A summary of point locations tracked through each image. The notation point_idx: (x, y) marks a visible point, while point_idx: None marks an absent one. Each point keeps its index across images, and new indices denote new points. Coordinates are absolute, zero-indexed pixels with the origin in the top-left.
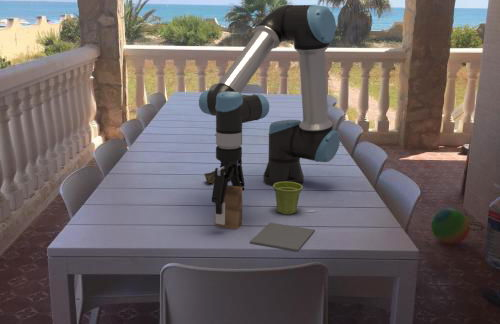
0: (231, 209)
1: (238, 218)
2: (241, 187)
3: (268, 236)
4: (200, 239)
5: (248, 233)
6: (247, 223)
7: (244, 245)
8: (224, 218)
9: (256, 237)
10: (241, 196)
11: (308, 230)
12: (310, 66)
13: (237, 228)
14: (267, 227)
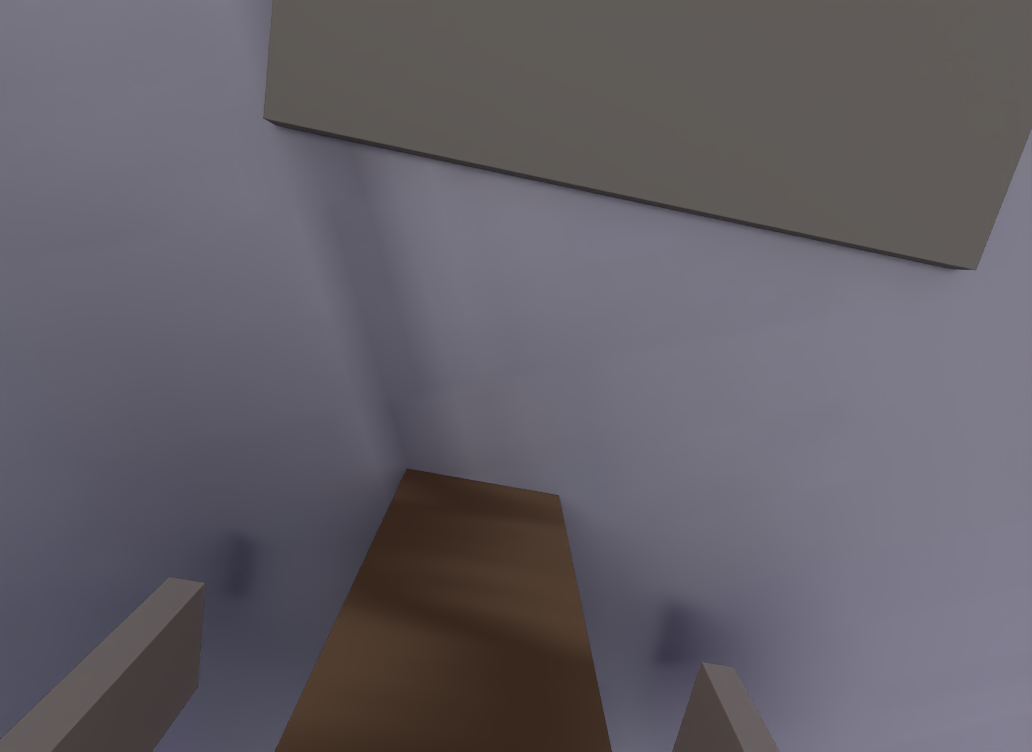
0: None
1: (510, 552)
2: None
3: (801, 47)
4: (871, 746)
5: (648, 344)
6: (332, 419)
7: (1012, 317)
8: (753, 737)
9: (848, 210)
10: None
11: None
12: None
13: (533, 493)
14: (466, 122)
